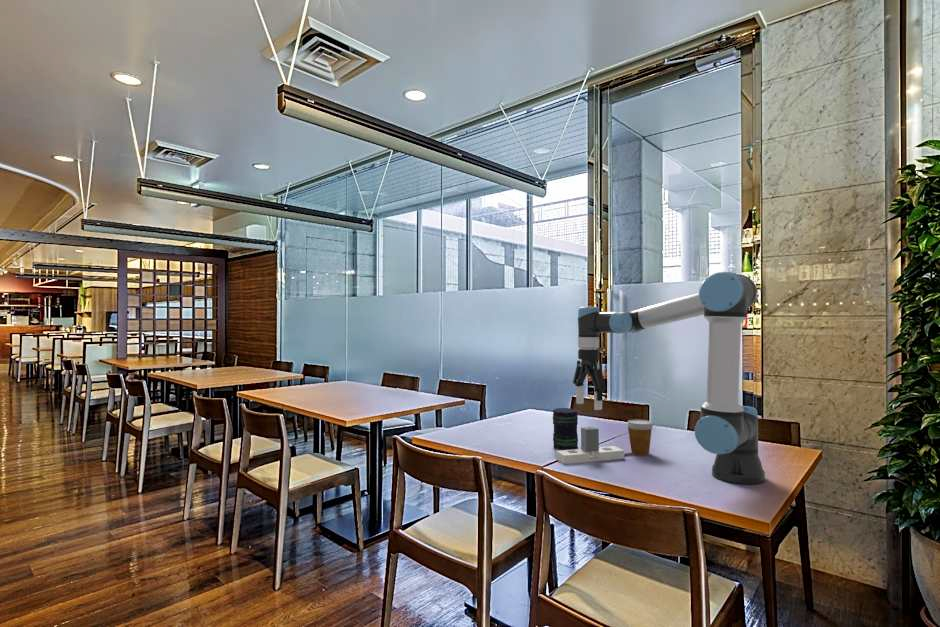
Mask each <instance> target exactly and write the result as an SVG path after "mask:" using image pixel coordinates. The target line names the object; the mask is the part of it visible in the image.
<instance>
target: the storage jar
mask: <svg viewBox="0 0 940 627" xmlns="http://www.w3.org/2000/svg"><path fill="white" fill-rule="evenodd" d="M578 421H579V420H578V409H576V408H575V409H574V408H569V407H568V408H567V407H559V408H558V407H557V408H553V409H552V424H553V434H552V435H553V437H552V441H553V442H552V444H553V447H552V448H553V449H555V450H556V451H560V450H572V449H579V448H578V447H579V446H578V444H579V438H578V437H579V436H578V424H579V423H578Z"/></svg>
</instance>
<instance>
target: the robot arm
mask: <svg viewBox="0 0 940 627" xmlns="http://www.w3.org/2000/svg"><path fill="white" fill-rule="evenodd" d="M757 295H758V288H757V286H756V284H755V282H754V281H753V280H752V279H751V278H750V277H748V276H747V275H745V274H739V273H734V272H730V271H721V272H715V273H712V274H710V275H709V276H707V277H706V278H705V279H704V280H703V281H702V282H701V285H700V287H699V290H698V292H695V293H692V294H690V295H686V296H685V295H684V296H682V297H678V298H675V299H671V300H668V301H664V302H660V303H657V304H653V305H649V306H647V307H643V308H640V309H635V310H633V311H619V310H618V311H600V308H599V307H598V306H581V307H579V308H578V312H577V314H578V315H577V328H578V330H577V331H578V337H577V348H579V349H578V351H577V353H578V354H577V358H578V359H579V360H576V368H575V371H574V377H573V380H572V383H573V385H574V386H575V387H576V388H575V390H576V392H575V394H576V396H575V397H576V398H575V400H576V402H575V403H576V404H577V405H582V404H585V402H584V401H585V400H584V399H585V398H584V395H585V394H584V393H585V391H584V388H585V387H584V386H585V385H584V383H585V381H586V380H585V379H586V378H587V376H589V377H590V379H591V382H592V385H593V387H594V389H593V390H594V391H593V393H594V394H593V396H594V399H593V401H594V402H593V405H594V406H593V409H594V411H601V410H603V392H604V391H606V390H607V385H606V383H605V379H604V374H603V369H602V363H601V362H597V361H598V360H599V359H600V350H599V347H600V334H601V333H602V334H627V333H639V332H641V331H643V330H647V329H651V328H655V327H659V326H662V325H666V324H667V325H668V324H671V323H674V322H679V321H683V320H687V319H691V318H695V317H699V316H703V318H705V319H706V320H707V321H708V347H707V348H708V349H707V378H706V380H707V382H706V383H707V384H706V400H705V401H704V402H703V403H702V404H701V406H700V418H699V419H698V420H697V422H696V424H695V426H694V436H695V440H697V443H698V444H699V445H700V446H701V447H702V448H703V449H704V450H705V451H707V452H709V453H711V454H714V455H715V458H714V462H713V465H712V466H711V475H712V476H713V478H716V479H718V480H721V481H724V482H727V483H728V482H729V483H733V484H740V485H742V484H743V485H757V484H758V485H759V484H762V483H765V481H766V471H765V470H764V469H763V468H764V467H763V465H762V460H761V459H760V456H759V423H758V422H759V416H758V410H757V409H756V408H755V407H753V406H749V405H746V406H745V405H740V403H739V390H740V389H739V387H740V386H739V385H740V364H741V362H740V358H741V357H740V354H741V331H742V330H741V329H742V323H743V322H744V321H745V320H747V318H748V309H749V307H750V308H751V306H752V305H753V304H754V303H755V301H756V299H757Z"/></svg>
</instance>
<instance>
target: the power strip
mask: <svg viewBox="0 0 940 627" xmlns="http://www.w3.org/2000/svg"><path fill="white" fill-rule="evenodd" d="M634 455H635V454H634V453H632V452H625V450H624V449H622V448H620V447H617V446H615V445H610V446H601V447H599V451H592V456H590V453H588V452H586V451H584V450H582V449H581V448H578V449H572V450H555V460H557V461H558V462H560V463H562V464H563V465H571V464H581V463H590V462H591V463H592V462H601V461H602V462H604V461H611V460H612V461H615V460H623V459H625V456H634Z"/></svg>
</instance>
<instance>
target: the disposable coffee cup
mask: <svg viewBox="0 0 940 627" xmlns="http://www.w3.org/2000/svg"><path fill="white" fill-rule="evenodd" d="M626 426H627V429H628V436H629V437H628V438H629V443H630V444H629V445H630V450H631V452H630V453H634V455H636V456H649V455H650V449H651V448H650V447H651V438H652V429H653V426H654V425H653V422H652V421H650V420H646V419H629V420H627V423H626Z"/></svg>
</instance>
